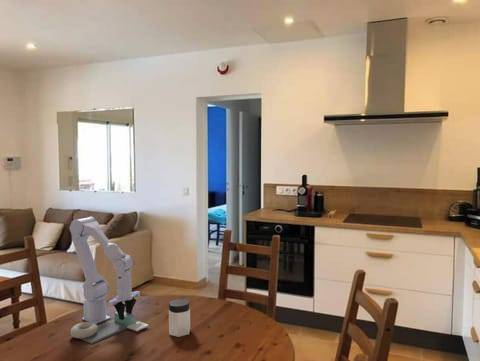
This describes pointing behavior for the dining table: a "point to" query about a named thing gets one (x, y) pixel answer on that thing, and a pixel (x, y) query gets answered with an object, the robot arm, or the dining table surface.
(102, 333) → the slate board
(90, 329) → the donut
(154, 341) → the dining table surface
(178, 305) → the jar
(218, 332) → the dining table surface
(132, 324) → the turner
